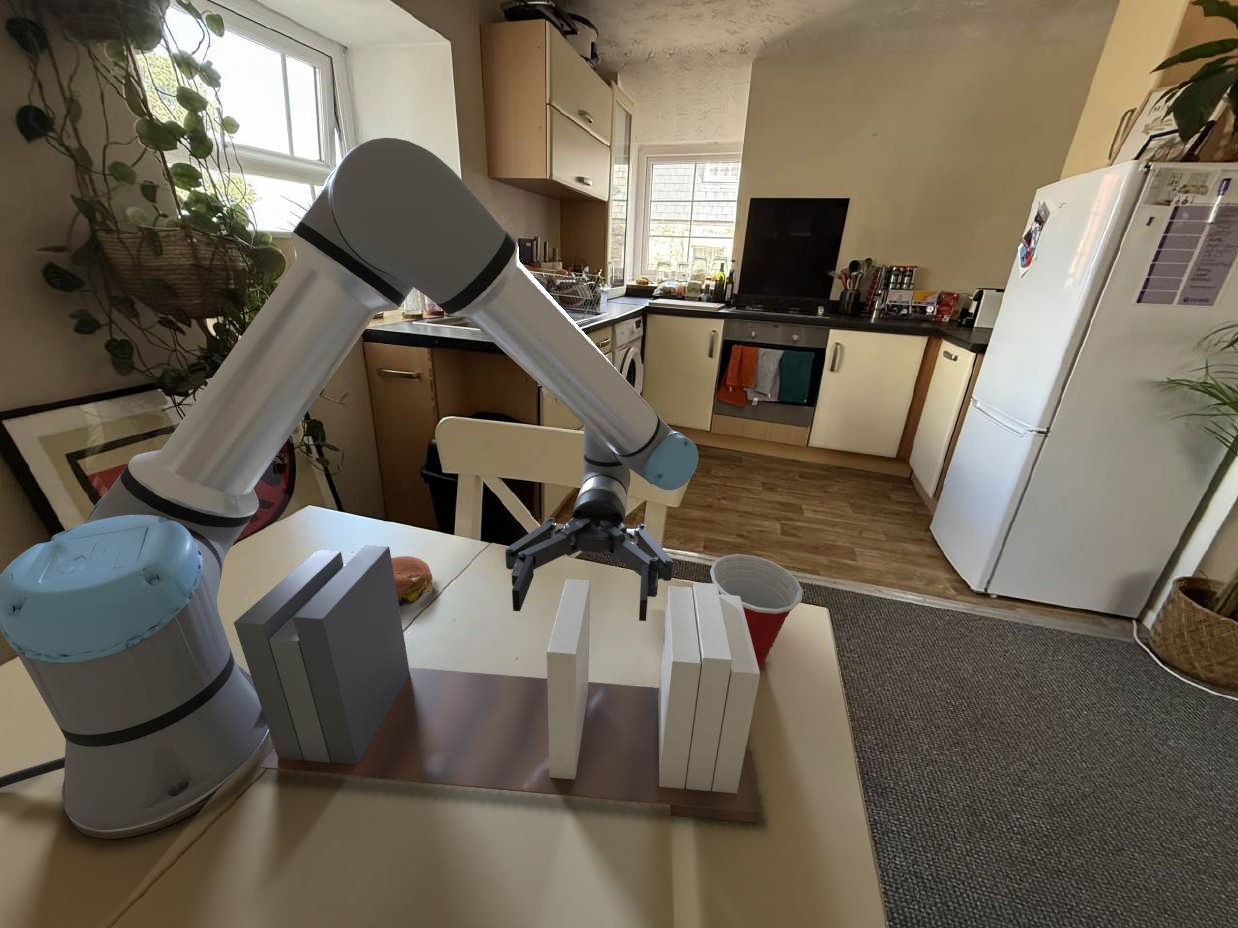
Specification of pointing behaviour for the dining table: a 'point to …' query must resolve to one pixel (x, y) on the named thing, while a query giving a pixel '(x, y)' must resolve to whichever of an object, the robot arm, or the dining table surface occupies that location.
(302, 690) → the grey books
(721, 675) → the white books
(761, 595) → the plastic cup
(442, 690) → the shelf board
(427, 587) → the burger
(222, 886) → the dining table surface
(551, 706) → the white book
